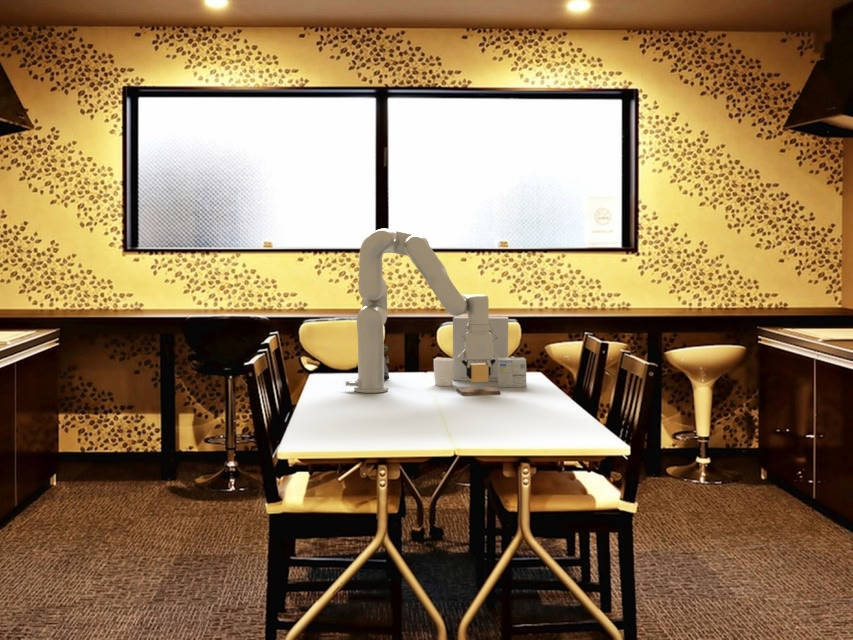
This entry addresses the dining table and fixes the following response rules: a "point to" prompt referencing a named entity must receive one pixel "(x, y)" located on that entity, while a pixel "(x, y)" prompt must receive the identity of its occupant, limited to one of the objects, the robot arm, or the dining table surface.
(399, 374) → the dining table surface
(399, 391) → the dining table surface
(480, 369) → the ochre cube
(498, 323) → the cereal box
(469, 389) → the walnut board
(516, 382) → the light bulb box
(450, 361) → the white cup
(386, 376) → the figurine
